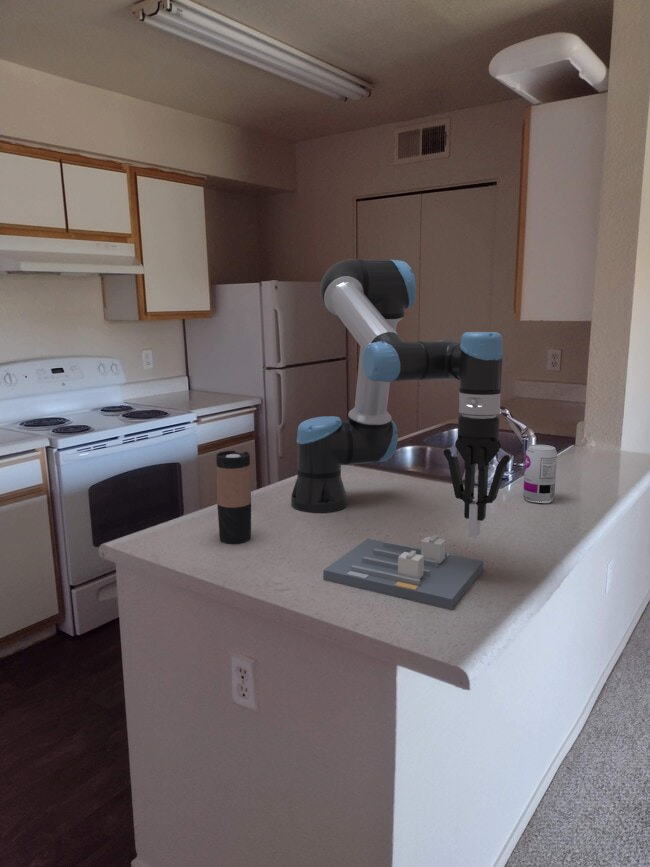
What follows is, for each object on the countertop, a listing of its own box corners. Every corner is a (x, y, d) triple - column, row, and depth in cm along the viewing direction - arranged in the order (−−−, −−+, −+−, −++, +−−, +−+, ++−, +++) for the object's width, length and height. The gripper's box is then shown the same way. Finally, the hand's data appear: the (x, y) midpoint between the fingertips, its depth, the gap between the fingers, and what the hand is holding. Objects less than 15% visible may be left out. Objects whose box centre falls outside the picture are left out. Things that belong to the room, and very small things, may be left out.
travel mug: (224, 546, 144) (222, 459, 140) (214, 536, 151) (211, 452, 147) (256, 541, 147) (255, 455, 143) (245, 530, 154) (243, 449, 150)
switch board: (323, 579, 127) (323, 565, 126) (367, 547, 144) (367, 534, 143) (451, 609, 114) (452, 593, 114) (483, 570, 131) (483, 556, 131)
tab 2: (420, 559, 131) (421, 538, 130) (426, 555, 133) (426, 533, 132) (439, 563, 129) (440, 541, 128) (444, 558, 131) (445, 537, 130)
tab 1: (397, 576, 122) (398, 554, 122) (403, 571, 125) (404, 548, 124) (417, 581, 120) (418, 557, 120) (423, 575, 123) (424, 552, 122)
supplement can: (521, 502, 176) (524, 449, 173) (524, 494, 184) (527, 443, 181) (553, 506, 173) (557, 451, 170) (554, 497, 181) (558, 445, 178)
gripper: (438, 415, 121) (435, 535, 125) (509, 420, 115) (502, 546, 119) (451, 410, 127) (448, 524, 132) (518, 414, 121) (512, 534, 126)
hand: (474, 535), depth 125 cm, fingers closed
